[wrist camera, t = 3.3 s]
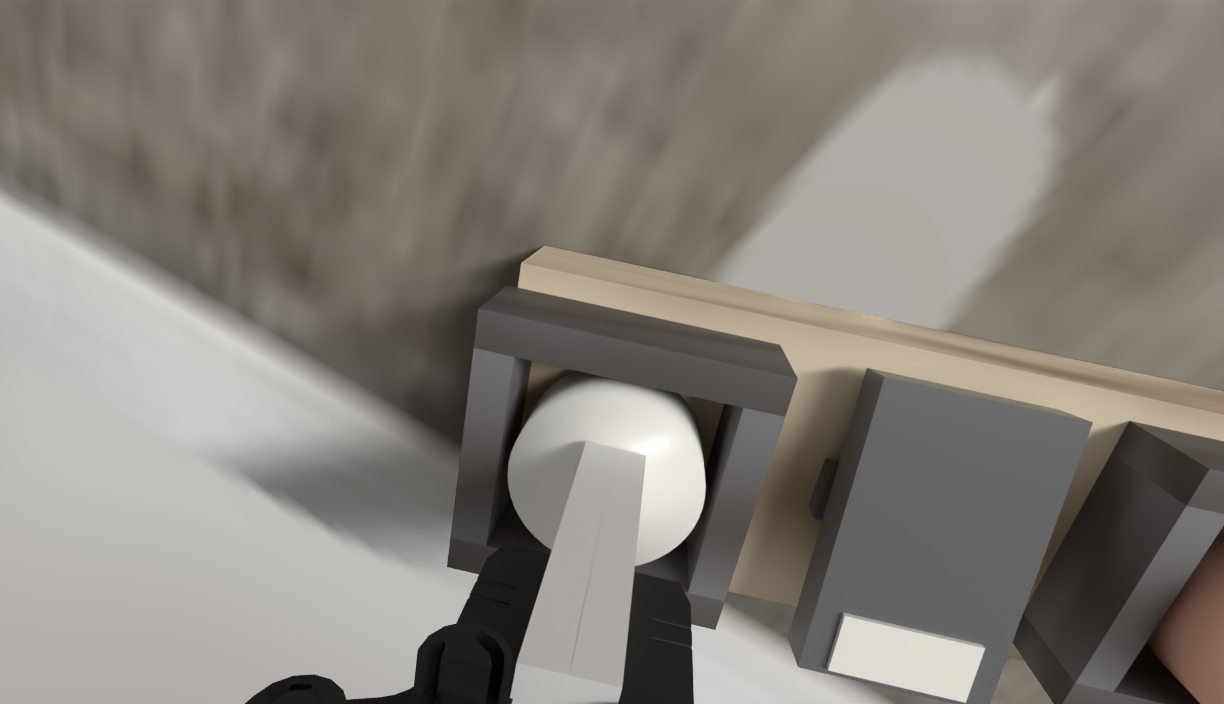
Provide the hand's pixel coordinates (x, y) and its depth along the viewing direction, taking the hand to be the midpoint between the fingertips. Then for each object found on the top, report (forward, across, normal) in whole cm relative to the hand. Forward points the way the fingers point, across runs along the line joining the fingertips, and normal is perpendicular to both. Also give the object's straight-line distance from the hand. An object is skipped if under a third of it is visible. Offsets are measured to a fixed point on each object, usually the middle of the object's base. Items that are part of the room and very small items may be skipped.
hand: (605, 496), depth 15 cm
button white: (+2, 0, 0) cm, 2 cm away
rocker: (+1, +8, 0) cm, 8 cm away
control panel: (+6, +8, 0) cm, 10 cm away
